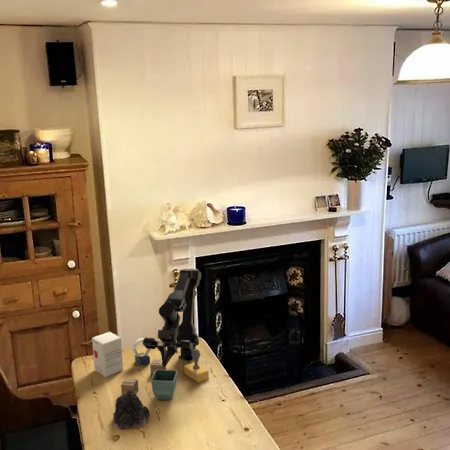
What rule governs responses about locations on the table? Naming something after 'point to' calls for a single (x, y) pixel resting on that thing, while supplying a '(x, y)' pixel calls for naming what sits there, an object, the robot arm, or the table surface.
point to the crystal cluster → (130, 411)
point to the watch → (141, 354)
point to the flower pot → (164, 383)
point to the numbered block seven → (156, 366)
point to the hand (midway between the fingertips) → (164, 366)
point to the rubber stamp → (196, 368)
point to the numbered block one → (129, 386)
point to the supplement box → (107, 354)
